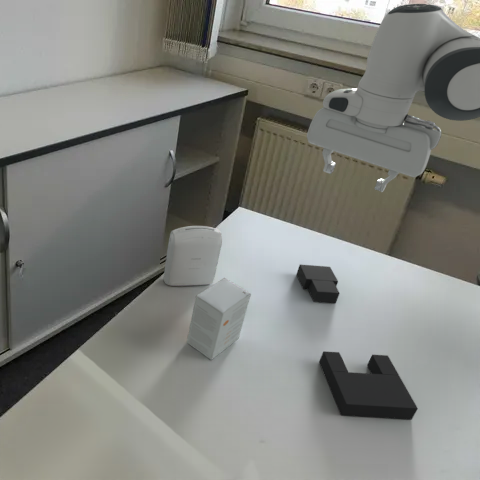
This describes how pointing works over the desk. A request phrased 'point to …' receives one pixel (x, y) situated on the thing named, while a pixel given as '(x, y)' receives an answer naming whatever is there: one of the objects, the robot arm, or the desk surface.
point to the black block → (319, 282)
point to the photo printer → (192, 256)
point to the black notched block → (368, 388)
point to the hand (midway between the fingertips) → (352, 180)
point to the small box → (217, 317)
